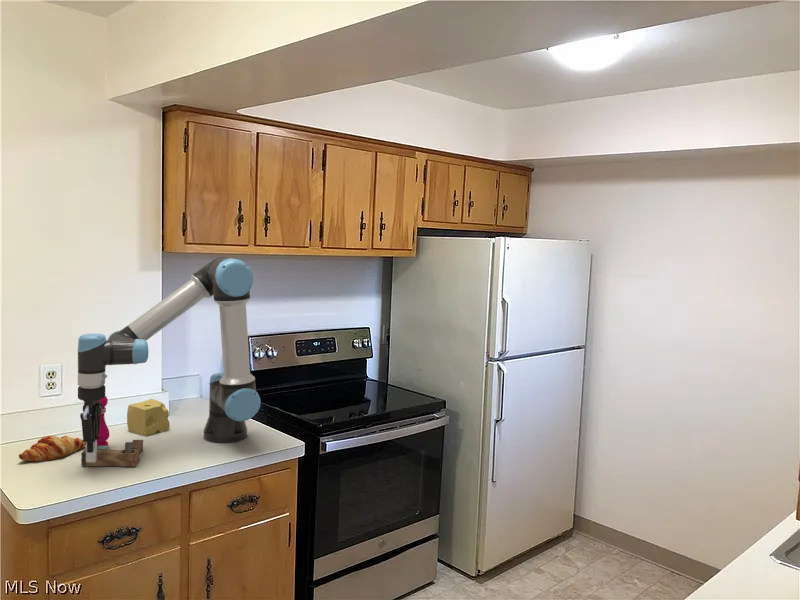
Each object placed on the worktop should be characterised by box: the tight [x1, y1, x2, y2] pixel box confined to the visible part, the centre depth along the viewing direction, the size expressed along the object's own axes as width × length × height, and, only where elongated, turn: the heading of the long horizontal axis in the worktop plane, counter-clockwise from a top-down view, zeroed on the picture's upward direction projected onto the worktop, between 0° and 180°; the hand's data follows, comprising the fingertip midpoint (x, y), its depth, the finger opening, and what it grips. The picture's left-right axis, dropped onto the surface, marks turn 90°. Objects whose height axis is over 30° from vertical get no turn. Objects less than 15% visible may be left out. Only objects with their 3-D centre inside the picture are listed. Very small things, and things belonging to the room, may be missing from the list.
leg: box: [80, 448, 141, 468], centre depth 199 cm, size 16×5×4 cm, turn 98°
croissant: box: [18, 435, 86, 462], centre depth 205 cm, size 21×10×8 cm, turn 147°
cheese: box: [126, 398, 171, 437], centre depth 233 cm, size 10×11×10 cm
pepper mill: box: [96, 395, 110, 447], centre depth 212 cm, size 7×7×20 cm
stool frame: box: [97, 439, 144, 456], centre depth 204 cm, size 14×13×7 cm
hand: (91, 461), depth 196 cm, fingers closed
